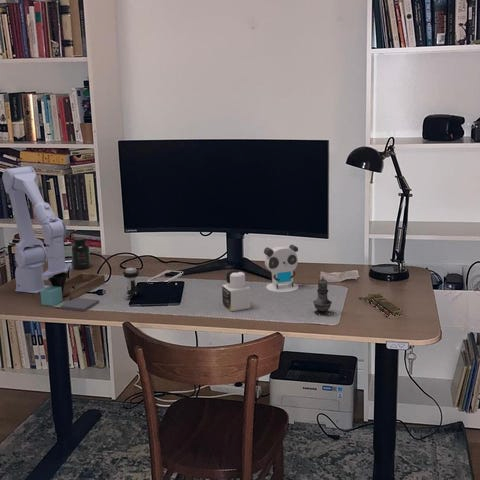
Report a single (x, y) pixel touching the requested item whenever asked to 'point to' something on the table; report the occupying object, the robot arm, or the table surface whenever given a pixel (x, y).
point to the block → (51, 295)
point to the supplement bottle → (80, 254)
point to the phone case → (164, 273)
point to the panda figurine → (281, 268)
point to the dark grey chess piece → (322, 299)
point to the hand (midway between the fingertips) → (59, 294)
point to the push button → (131, 281)
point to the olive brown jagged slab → (383, 304)
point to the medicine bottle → (236, 291)
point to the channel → (91, 280)
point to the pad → (79, 304)
